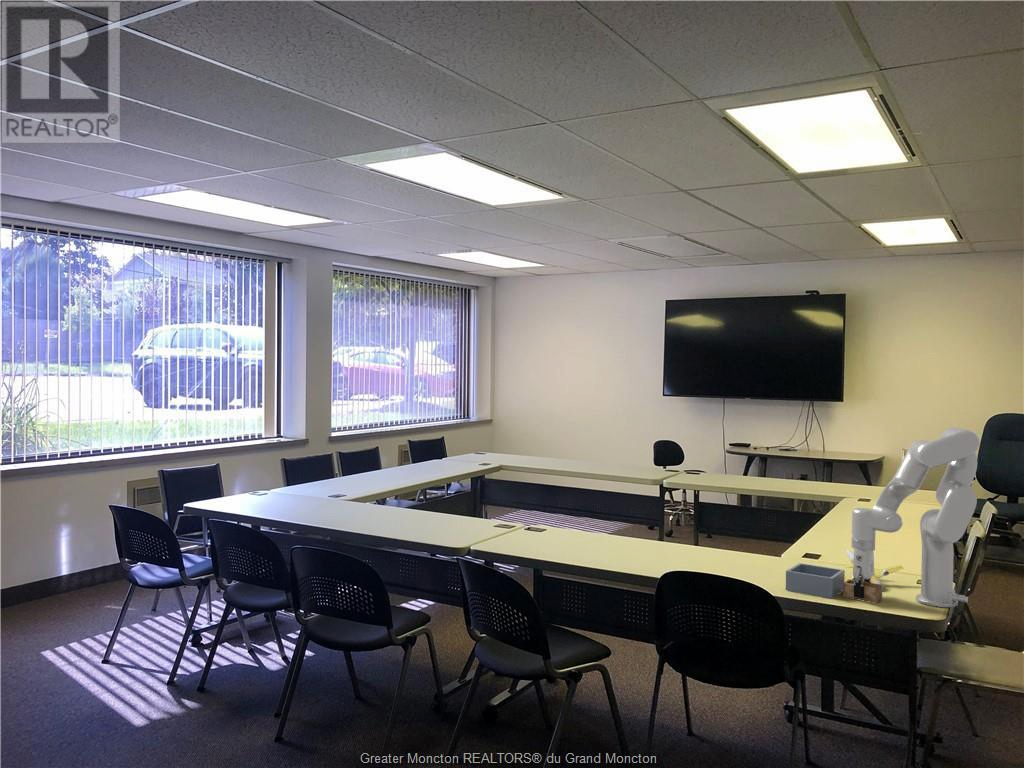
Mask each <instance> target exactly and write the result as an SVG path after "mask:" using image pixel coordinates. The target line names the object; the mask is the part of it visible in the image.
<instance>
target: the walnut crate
mask: <svg viewBox="0 0 1024 768" xmlns="http://www.w3.org/2000/svg"><path fill="white" fill-rule="evenodd" d="M863 586H864V598H858V597H854V580H850V579H848V580H847V581H846V582H844V583H843V591H842V592H843V593H842V595H843V596H842V597H843V598H844V597H848V598H847V599H850V598H854V599H853V600H855V599H860V600H859V601H861V600H864V601H863V602H867V601H870V602H869V603H872V602H875V603H874V604H879V602H881V601H882V600H881V599H883V590H882V586H883V584H882V585H881V584H875V583H869V582H864V585H863Z"/></svg>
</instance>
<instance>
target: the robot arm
mask: <svg viewBox="0 0 1024 768" xmlns="http://www.w3.org/2000/svg"><path fill="white" fill-rule="evenodd" d="M979 447H980V438H979V437H978V435H977V434H976V433H975V432H974V431H972V430H968V429H963V428H958V427H949V428H946V429H945V430H944V431H942V433H941V436H940V438H937V439H935V440H931V441H928V440H921V439H919V440H915V441H914V442H912V443H911V445H910V446H909V448H908V449H907V451H906V453H905V455H904V457H903V459H902V461H901V463H900V464H899V466H898V469H897V470H896V473H895V474H894V476H893V477H892V479H891V480H890V481H889V482H888V484H887V485H886V486H885V487H884V488H883V490H882V491H881V493H880V494H879V495H878V498H876V499H877V500H876V501H875V504H874V505H873V507H872V509H871V508H868V507H867V508H866V507H856V508H853V510H852V512H851V549H853V553H854V558H853V568H852V576H854V577H855V580H854V597H858V598H864V586H863V585H864V582H869V583H871V577H872V576H873V575H874V571H875V555H874V551H875V550H876V531H877V532H878V531H879V532H883V533H889V534H890V533H891V534H892V533H896V532H899V531H900V529H901V528H902V526H903V519H902V517H901V516H900V514H899V513H897V511H898V509H899V508H900V505H901V504H902V503H903V501H904V500H905V499H906V498H908V497H909V496H911V495H913V494H914V493H916V492H917V491H918V490H919V489H920V488H921V486H922V484H923V482H924V480H925V479H926V476H927V475H928V473H929V470H930V469H931V468H937V467H940V466H944V465H946V469H945V471H944V474H943V475H942V479H940V483H939V484H938V487H937V489H936V492H935V499H936V501H937V503H938V504H940V505H941V506H940V509H939V508H932V509H928V510H926V511H925V512H924V513H923V514H922V516H921V518H920V520H919V521H920V522H919V529H920V537H921V539H920V540H921V563H920V564H921V566H920V567H921V569H920V572H921V576H920V578H921V579H920V594H917V595H916V596H915V600H916V601H917V602H918V603H921V604H922V605H927V606H931V607H936V606H937V608H954V607H955V608H956V607H957V606H959V602H961V603H966V604H967V603H968V598H969V597H968V596H965V595H964V594H958V593H956V589H954V556H955V555H954V553H955V552H954V544H955V543H956V542H958V541H959V540H960V539H961V538H962V537H963V536H964V534H965V532H966V530H967V527H968V526H969V523H970V521H971V519H972V517H973V515H974V513H975V510H976V508H977V505H978V504H977V503H978V501H977V500H978V497H977V494H976V492H975V490H974V489H973V488H971V486H972V483H973V481H974V478H975V475H976V473H977V468H978V456H977V454H976V452H977V451H978V449H979ZM859 576H861V577H859ZM859 579H860V580H859Z"/></svg>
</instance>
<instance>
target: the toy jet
mask: <svg viewBox="0 0 1024 768" xmlns="http://www.w3.org/2000/svg"><path fill="white" fill-rule="evenodd" d="M845 553H846V556H847V558H848V560H849V561H850V562H851V563H850V564H846V565H843V566H844V568H846V569H853V558H854V552H852V551H850V550H849V549H846V550H845ZM903 569H904V567H903V565H901V564H898V565H894V566H891V567H886V568H882V569H878V570H874V575H873V576H872V577H871V583H875V584H881V585H882V591H883V590H884V587H883V582H882V581H881V580H880V579H881V578H882V577H884V576H888V575H890V574H892V573H895V572H898V571H900V570H903ZM859 577H861V576H859ZM848 579H850V580H855V577H854V576H853V575H851V576H845V578H844V582H846V581H847V580H848ZM859 580H860V579H859Z"/></svg>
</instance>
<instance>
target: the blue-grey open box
mask: <svg viewBox="0 0 1024 768" xmlns="http://www.w3.org/2000/svg"><path fill="white" fill-rule="evenodd" d="M845 572H846V571H845V569H840V568H833V567H828V566H826V567H825V566H822V565H815V564H814V565H813V564H807V563H801V562H799V563H797V564H795V565H794V566H792V567H789V569H786V570H785V591H786V590H788V591H787V592H792V591H794V592H793V593H797V592H799V593H798V594H803V595H809V596H815V597H820V598H821V597H822V598H826V599H834V598H836V597H837V596H838V595H839V594H840V593H841V591H842V590H843V583H844V578H845V577H846V576H845V574H846V573H845ZM842 592H843V591H842ZM838 593H839V594H838ZM837 594H838V595H837Z"/></svg>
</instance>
